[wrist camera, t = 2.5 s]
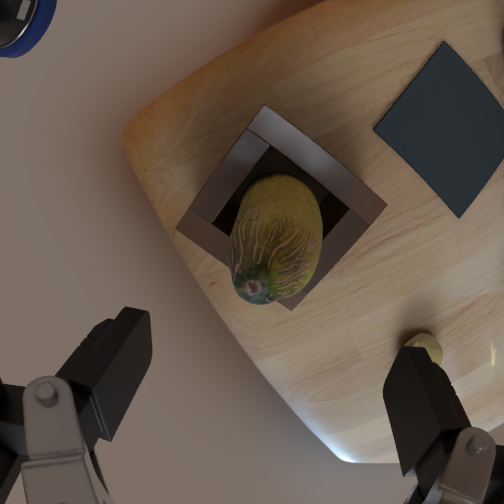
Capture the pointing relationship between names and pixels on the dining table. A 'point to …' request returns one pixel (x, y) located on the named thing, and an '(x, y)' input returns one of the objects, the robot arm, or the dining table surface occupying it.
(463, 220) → the dining table surface
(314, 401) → the dining table surface
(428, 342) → the fruit
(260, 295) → the vegetable
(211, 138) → the dining table surface
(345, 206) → the holder
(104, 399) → the robot arm
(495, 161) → the mat
